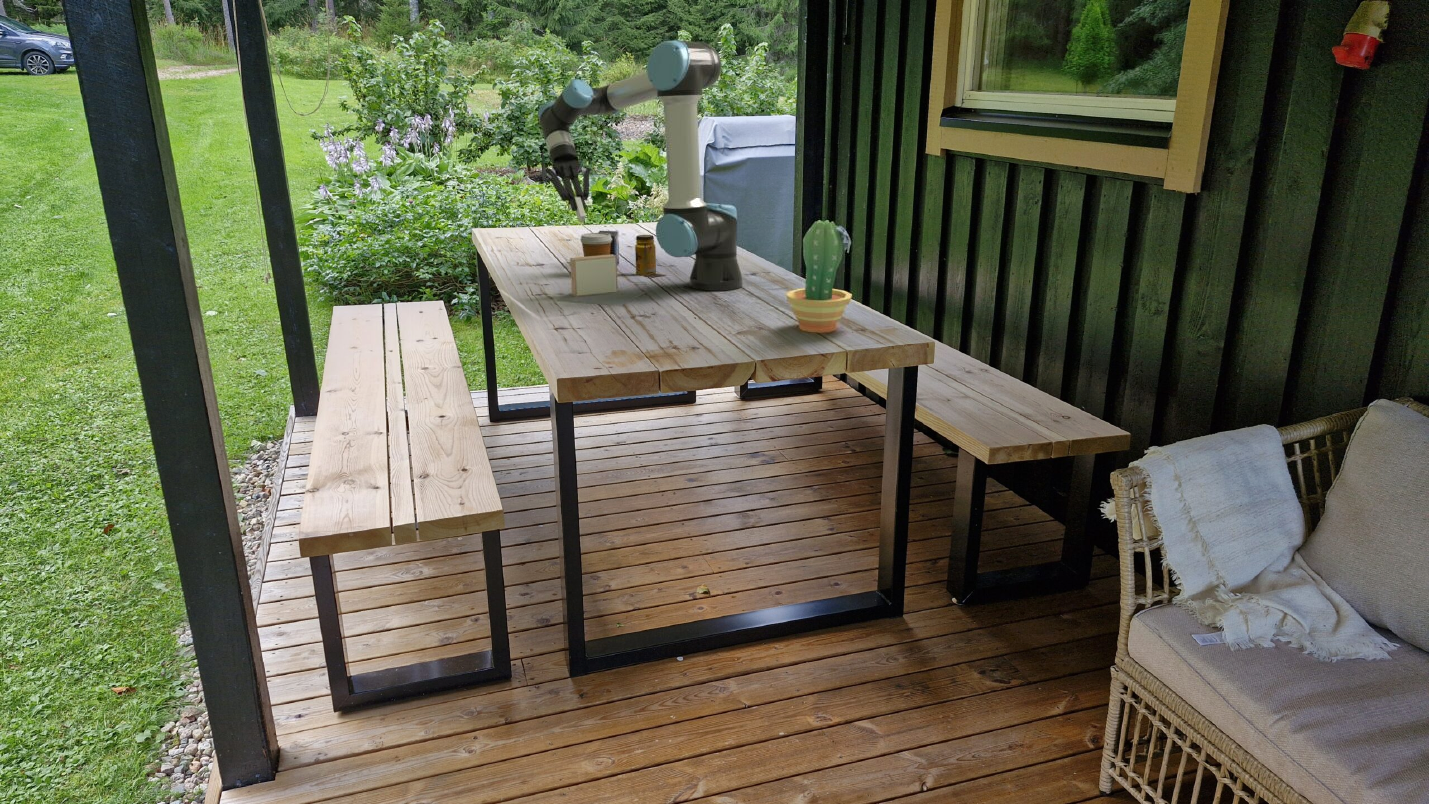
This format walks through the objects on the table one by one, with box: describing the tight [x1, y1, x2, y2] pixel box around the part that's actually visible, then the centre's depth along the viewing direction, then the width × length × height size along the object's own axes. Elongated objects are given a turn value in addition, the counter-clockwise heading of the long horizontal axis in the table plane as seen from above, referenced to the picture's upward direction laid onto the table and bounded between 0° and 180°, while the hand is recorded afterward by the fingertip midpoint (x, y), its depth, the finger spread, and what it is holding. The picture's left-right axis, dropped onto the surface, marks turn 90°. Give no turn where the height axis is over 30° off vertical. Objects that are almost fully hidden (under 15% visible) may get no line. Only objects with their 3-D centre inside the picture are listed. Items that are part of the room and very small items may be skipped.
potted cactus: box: [785, 219, 853, 334], centre depth 214 cm, size 15×15×25 cm
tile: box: [569, 254, 619, 297], centre depth 249 cm, size 3×12×10 cm, turn 117°
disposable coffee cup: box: [579, 232, 612, 257], centre depth 276 cm, size 10×10×12 cm
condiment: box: [633, 234, 667, 279], centre depth 276 cm, size 7×8×12 cm
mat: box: [554, 289, 647, 307], centre depth 247 cm, size 19×17×1 cm
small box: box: [597, 230, 620, 266], centre depth 290 cm, size 11×6×10 cm, turn 179°
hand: (582, 219), depth 253 cm, fingers closed
